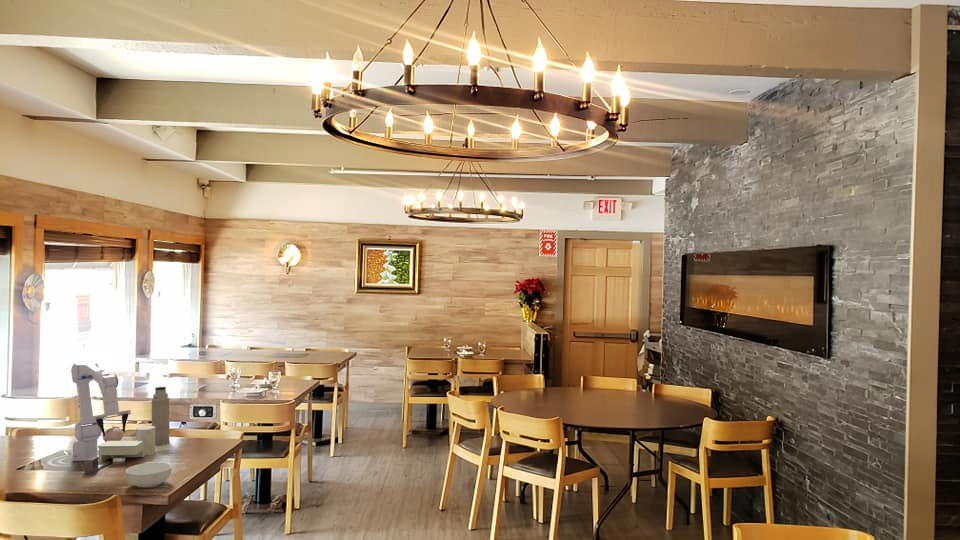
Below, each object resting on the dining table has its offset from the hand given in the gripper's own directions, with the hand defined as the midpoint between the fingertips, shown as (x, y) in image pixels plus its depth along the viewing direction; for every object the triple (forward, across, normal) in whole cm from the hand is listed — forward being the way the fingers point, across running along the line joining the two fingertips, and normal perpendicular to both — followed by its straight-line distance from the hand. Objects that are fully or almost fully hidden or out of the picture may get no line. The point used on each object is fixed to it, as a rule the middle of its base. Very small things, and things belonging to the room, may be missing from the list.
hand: (114, 434), depth 306 cm
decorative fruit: (+5, +1, +48) cm, 48 cm away
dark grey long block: (+13, -8, +9) cm, 18 cm away
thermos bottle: (+8, +22, +42) cm, 48 cm away
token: (+13, +1, +16) cm, 20 cm away
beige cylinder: (+11, +13, +27) cm, 32 cm away
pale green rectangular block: (+12, +3, +19) cm, 23 cm away
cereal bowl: (+24, +9, -25) cm, 35 cm away
